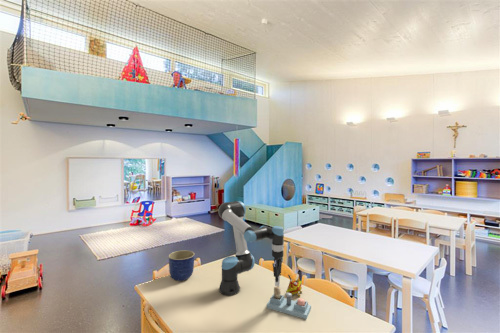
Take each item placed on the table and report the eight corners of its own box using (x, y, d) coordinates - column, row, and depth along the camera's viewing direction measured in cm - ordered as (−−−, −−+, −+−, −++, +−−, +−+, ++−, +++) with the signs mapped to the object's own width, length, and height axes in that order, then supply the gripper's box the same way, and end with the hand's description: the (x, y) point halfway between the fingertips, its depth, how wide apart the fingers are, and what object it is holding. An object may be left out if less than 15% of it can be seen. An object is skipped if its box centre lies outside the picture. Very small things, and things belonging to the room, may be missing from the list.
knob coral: (296, 312, 156) (296, 301, 156) (298, 308, 160) (298, 297, 160) (303, 314, 154) (303, 302, 154) (305, 310, 158) (305, 299, 158)
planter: (162, 279, 199) (162, 255, 198) (182, 270, 216) (182, 248, 216) (180, 286, 188) (180, 261, 188) (199, 276, 205) (199, 253, 205)
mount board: (266, 307, 161) (266, 299, 161) (273, 298, 172) (273, 291, 172) (306, 319, 149) (306, 310, 149) (311, 309, 160) (311, 300, 160)
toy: (302, 297, 170) (291, 276, 173) (289, 301, 174) (279, 281, 177) (306, 288, 182) (296, 269, 186) (294, 292, 186) (285, 273, 189)
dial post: (285, 305, 160) (285, 294, 160) (287, 302, 163) (287, 292, 163) (290, 306, 158) (290, 296, 158) (292, 303, 161) (292, 293, 161)
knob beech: (272, 299, 163) (273, 288, 163) (275, 296, 167) (275, 285, 167) (279, 301, 161) (279, 290, 161) (281, 297, 165) (281, 287, 165)
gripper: (279, 254, 156) (279, 291, 156) (286, 248, 168) (285, 282, 168) (268, 252, 160) (268, 288, 160) (275, 246, 171) (275, 280, 171)
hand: (277, 285), depth 164 cm, fingers closed
